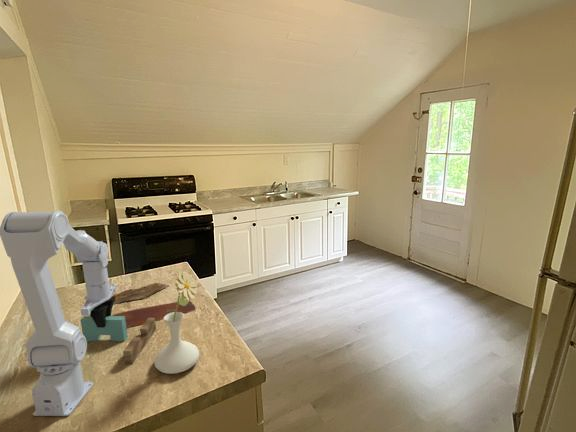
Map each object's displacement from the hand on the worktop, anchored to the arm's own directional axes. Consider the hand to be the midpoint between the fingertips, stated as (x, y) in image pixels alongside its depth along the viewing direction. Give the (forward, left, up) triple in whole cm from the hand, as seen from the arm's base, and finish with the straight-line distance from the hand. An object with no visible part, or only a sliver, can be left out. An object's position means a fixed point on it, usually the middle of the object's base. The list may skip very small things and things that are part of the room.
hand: (103, 324), depth 96 cm
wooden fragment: (+27, +4, -6) cm, 28 cm away
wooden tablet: (+14, -9, -6) cm, 17 cm away
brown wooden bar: (-3, -12, -5) cm, 13 cm away
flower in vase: (-10, -25, -5) cm, 28 cm away
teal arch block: (0, 0, -5) cm, 5 cm away
